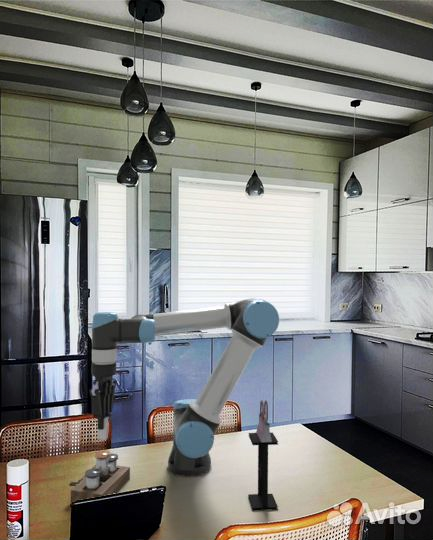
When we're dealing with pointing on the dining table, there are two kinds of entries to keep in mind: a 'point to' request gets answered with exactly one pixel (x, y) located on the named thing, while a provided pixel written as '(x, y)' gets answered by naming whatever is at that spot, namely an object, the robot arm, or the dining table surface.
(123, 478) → the block
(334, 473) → the dining table surface
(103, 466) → the plunger mid
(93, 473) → the plunger left
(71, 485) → the tactical tomahawk
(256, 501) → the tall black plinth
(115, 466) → the plunger right
